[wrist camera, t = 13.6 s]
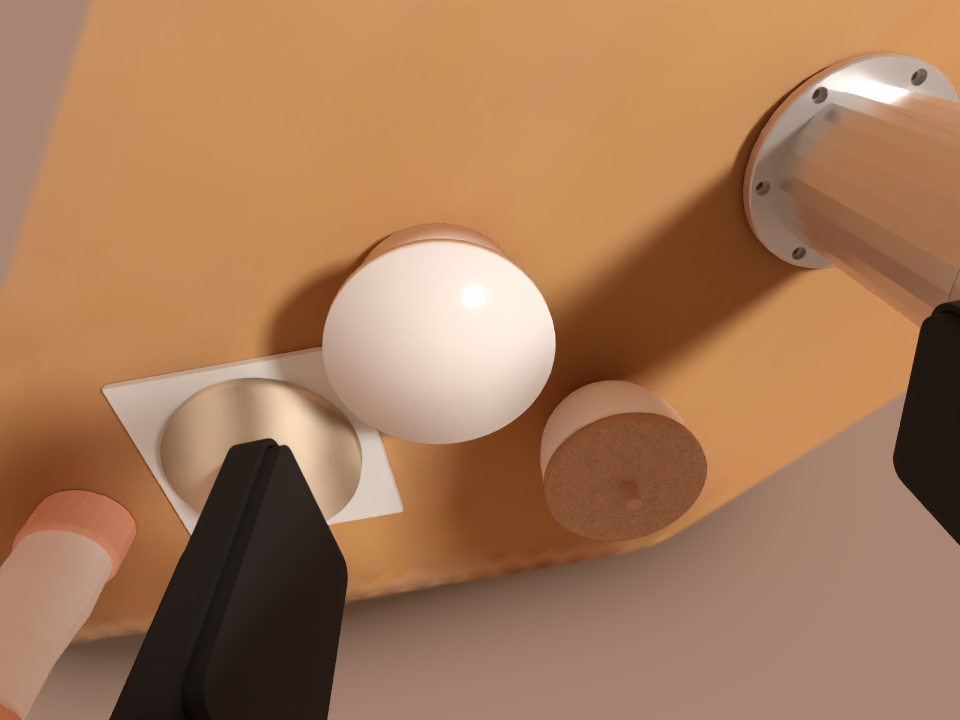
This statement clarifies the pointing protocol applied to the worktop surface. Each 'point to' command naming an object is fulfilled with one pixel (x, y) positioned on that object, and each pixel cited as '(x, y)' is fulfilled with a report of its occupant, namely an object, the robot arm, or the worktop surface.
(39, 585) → the pepper shaker
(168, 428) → the lid
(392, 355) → the mushroom
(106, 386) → the mat
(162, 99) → the worktop surface
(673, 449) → the lidded jar
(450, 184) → the worktop surface
